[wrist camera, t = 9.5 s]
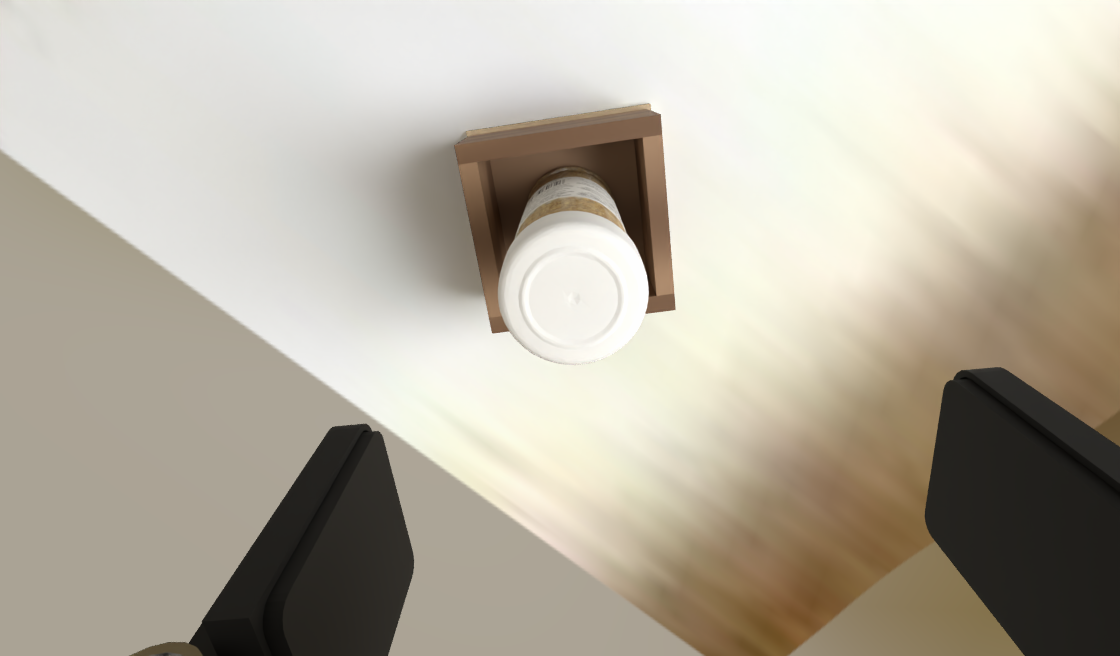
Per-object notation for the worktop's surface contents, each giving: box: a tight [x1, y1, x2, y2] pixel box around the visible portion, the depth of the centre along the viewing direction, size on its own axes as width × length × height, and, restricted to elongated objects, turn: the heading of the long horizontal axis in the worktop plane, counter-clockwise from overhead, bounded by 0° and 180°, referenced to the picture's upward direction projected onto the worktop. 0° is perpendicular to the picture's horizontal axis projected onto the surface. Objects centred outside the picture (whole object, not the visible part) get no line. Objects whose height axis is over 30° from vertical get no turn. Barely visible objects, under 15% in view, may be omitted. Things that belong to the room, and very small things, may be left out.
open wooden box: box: [454, 104, 675, 333], centre depth 29 cm, size 9×9×5 cm
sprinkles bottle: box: [498, 167, 649, 365], centre depth 24 cm, size 5×5×13 cm
